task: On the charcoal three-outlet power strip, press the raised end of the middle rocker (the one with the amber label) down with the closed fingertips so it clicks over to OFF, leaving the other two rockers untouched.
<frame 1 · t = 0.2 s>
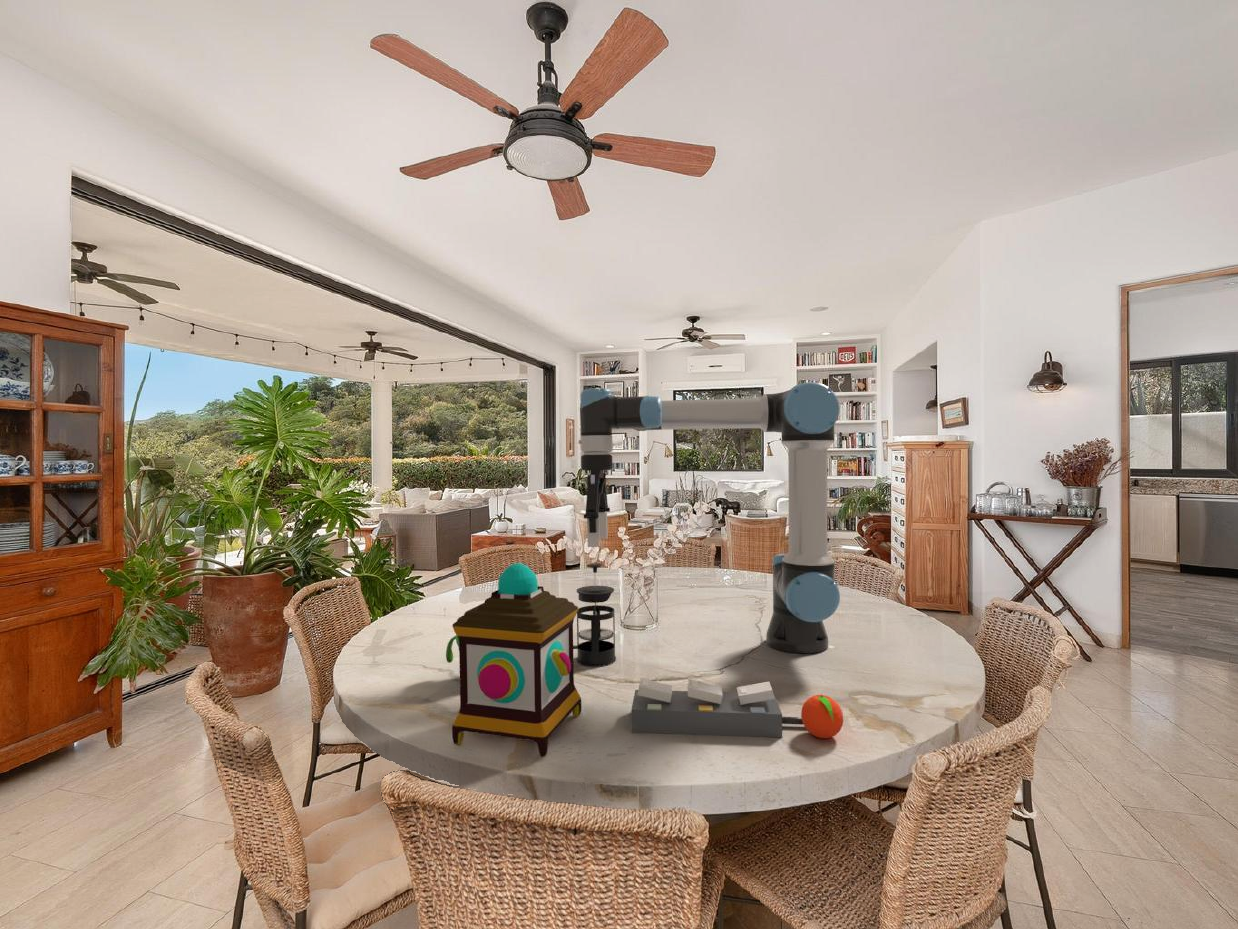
hand: (597, 542, 145), 28 cm above the table, tool pointing down, fingers open, 13 cm apart
rocker 1: (755, 692, 109), point 6 cm above the table, hinge at 12.0°
decorative lantern: (520, 731, 108), on the table
snack cup: (481, 680, 133), on the table
rocker 3: (655, 689, 110), point 6 cm above the table, hinge at -12.0°
french press: (594, 660, 144), on the table
rocker 2: (704, 691, 110), point 6 cm above the table, hinge at -12.0°
clementine: (823, 739, 104), on the table
power strip: (705, 723, 110), on the table
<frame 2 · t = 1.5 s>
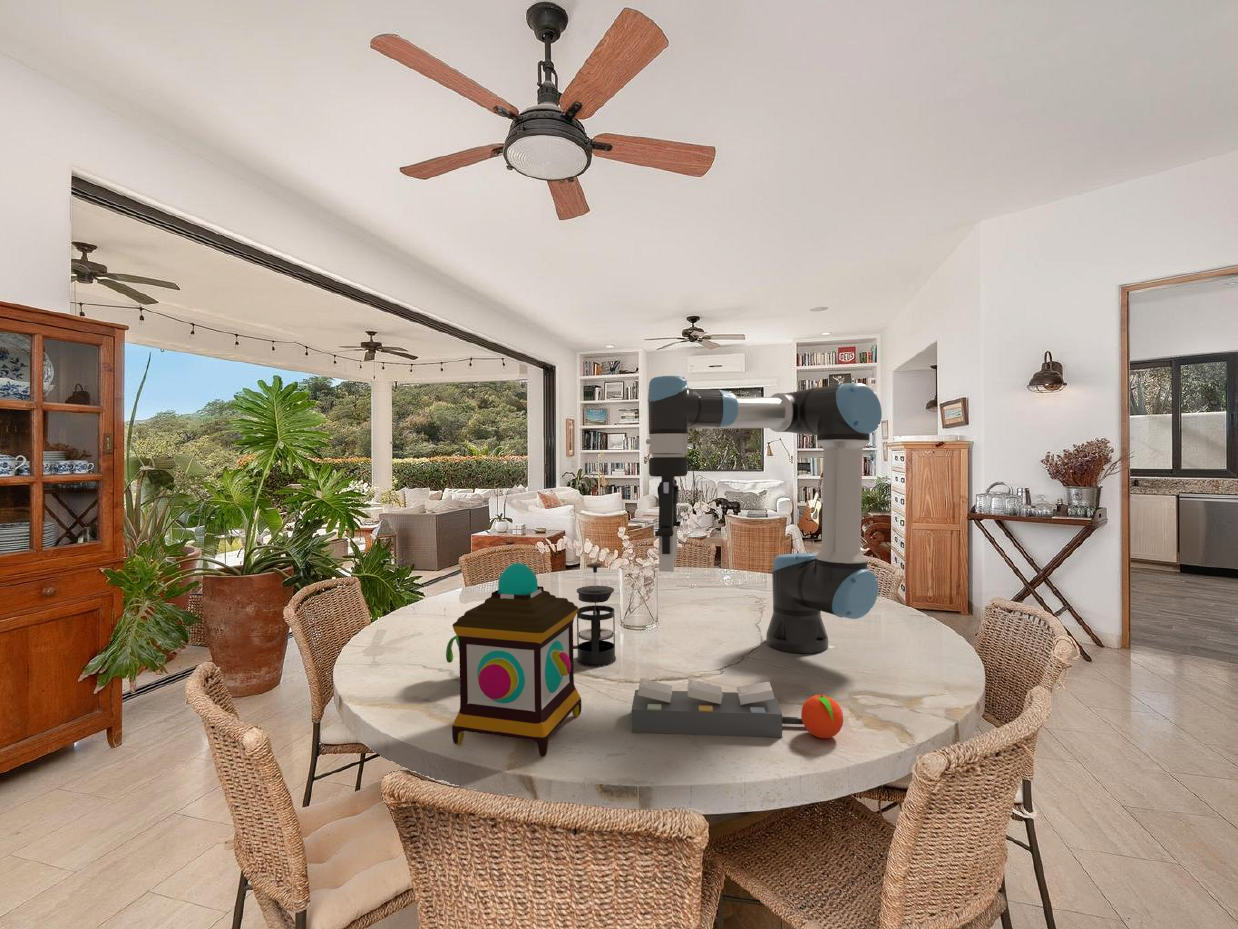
hand: (668, 564, 118), 27 cm above the table, tool pointing down, fingers open, 13 cm apart
nothing on the table moved.
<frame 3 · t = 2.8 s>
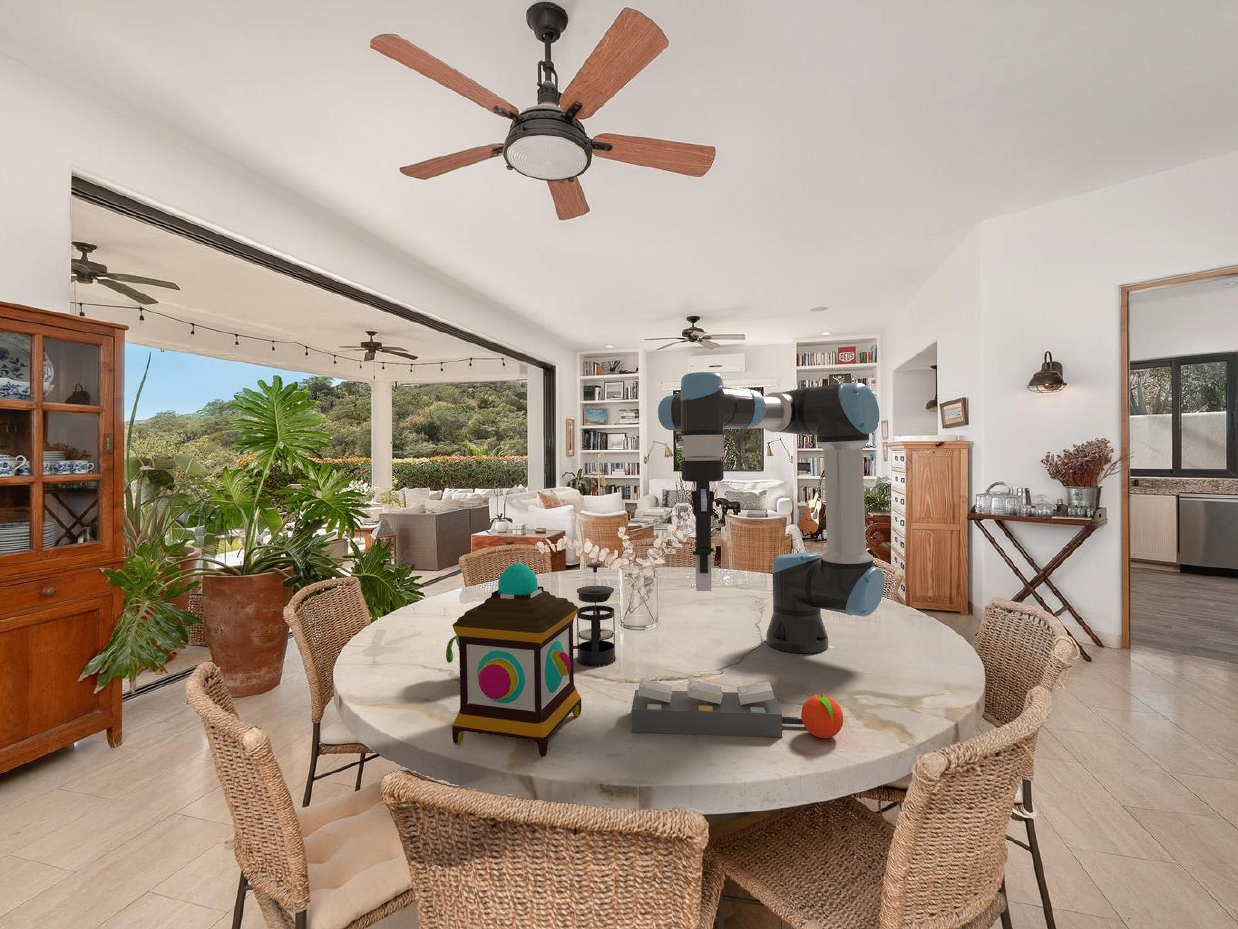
hand: (703, 589, 109), 24 cm above the table, tool pointing down, fingers closed
nothing on the table moved.
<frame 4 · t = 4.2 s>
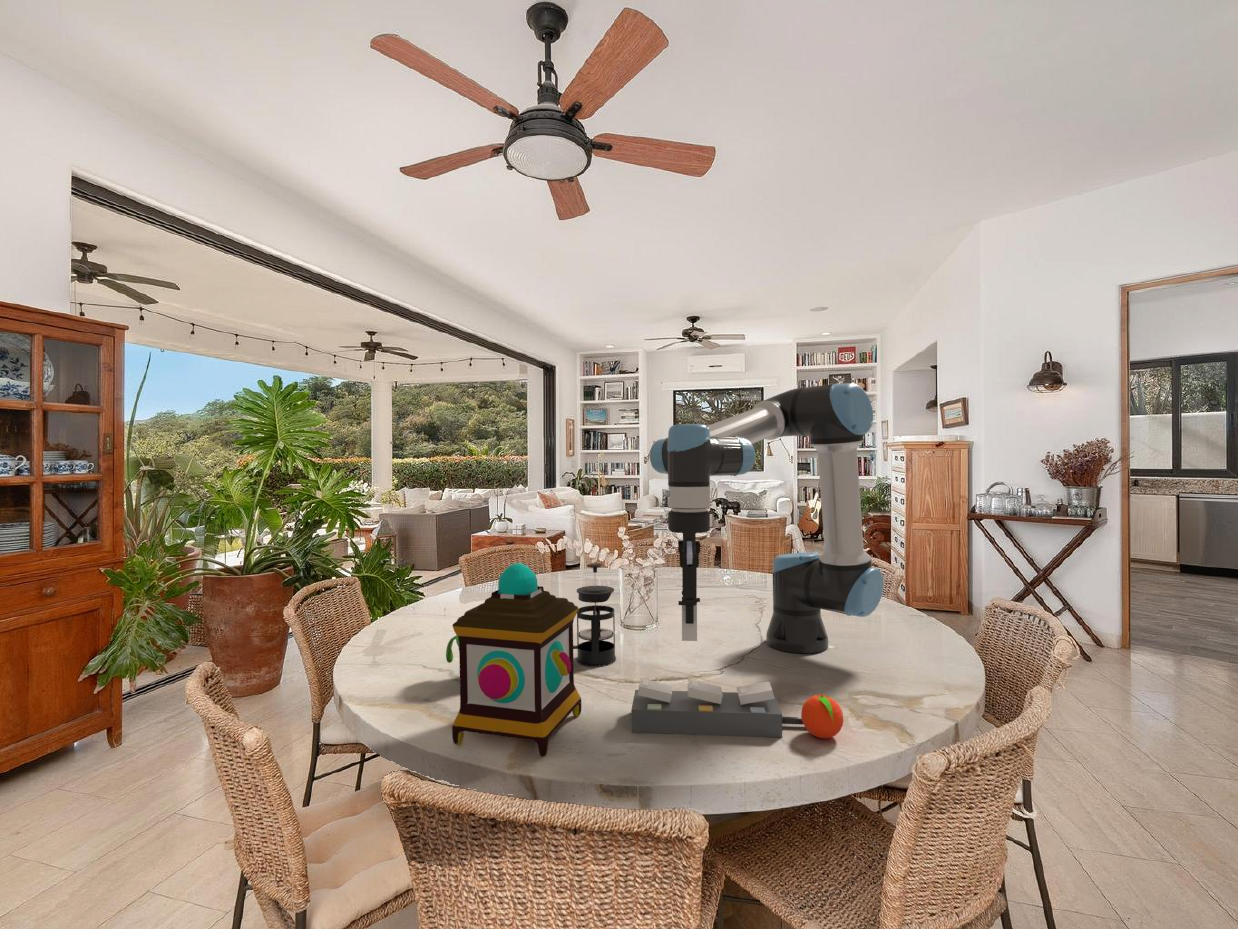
hand: (689, 639, 109), 15 cm above the table, tool pointing down, fingers closed
nothing on the table moved.
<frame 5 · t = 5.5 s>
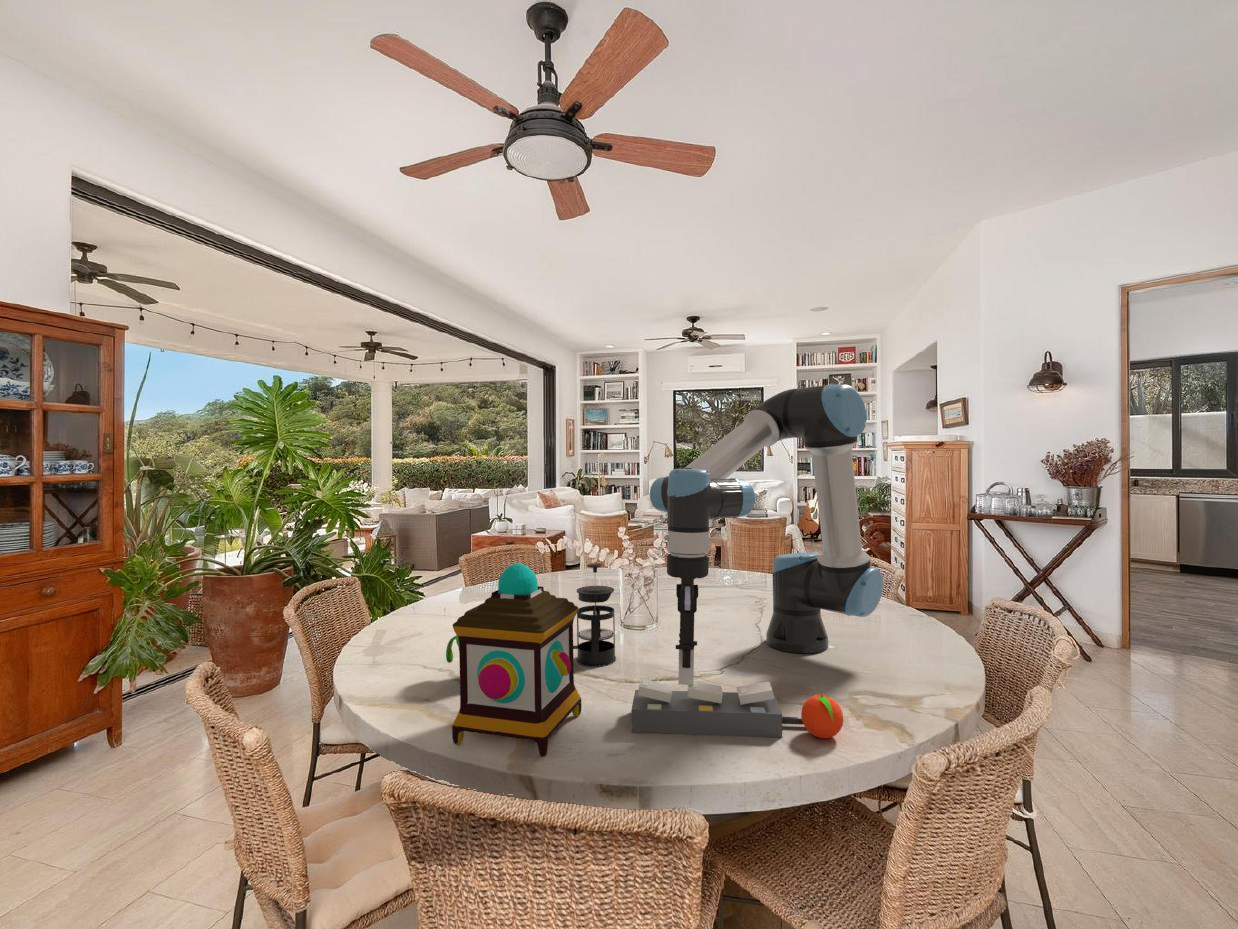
hand: (685, 683, 110), 7 cm above the table, tool pointing down, fingers closed
rocker 2: (704, 691, 110), point 6 cm above the table, hinge at -8.9°, touching gripper
everything else where it was.
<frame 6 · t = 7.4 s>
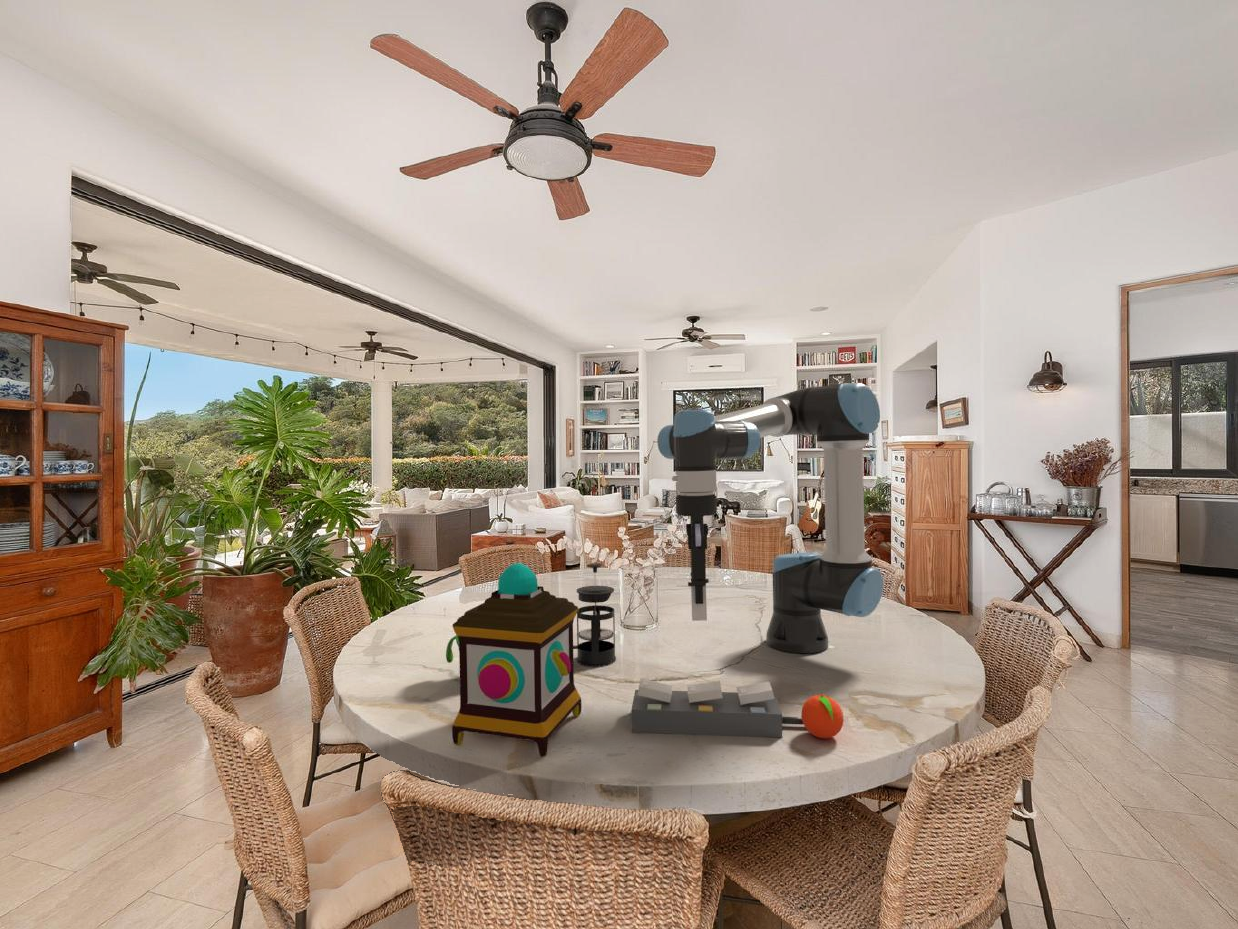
hand: (699, 619, 113), 18 cm above the table, tool pointing down, fingers closed
rocker 2: (704, 691, 110), point 6 cm above the table, hinge at 10.1°
everything else where it was.
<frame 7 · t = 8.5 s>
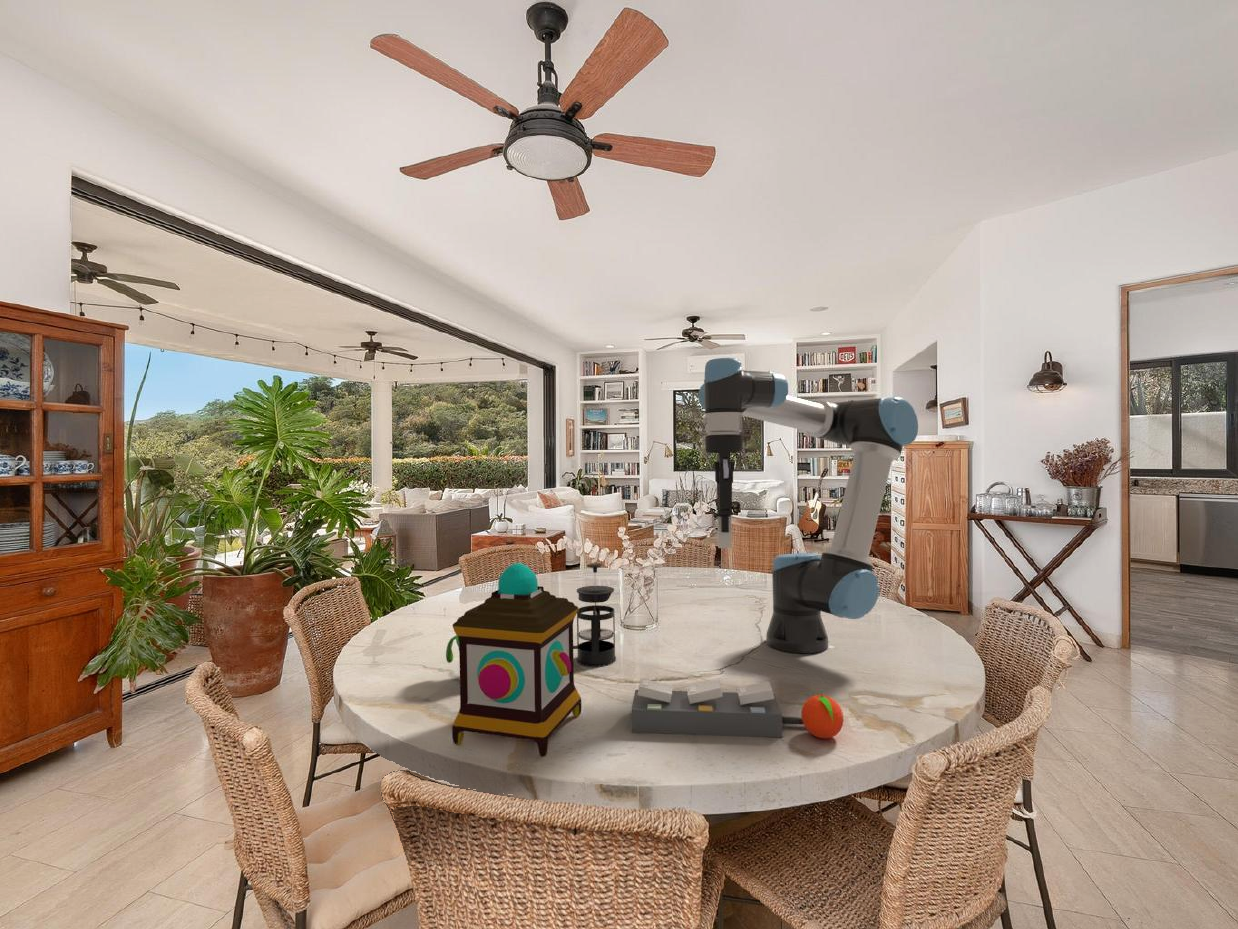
hand: (724, 547, 125), 29 cm above the table, tool pointing down, fingers closed
rocker 2: (704, 691, 110), point 6 cm above the table, hinge at 14.5°
everything else where it was.
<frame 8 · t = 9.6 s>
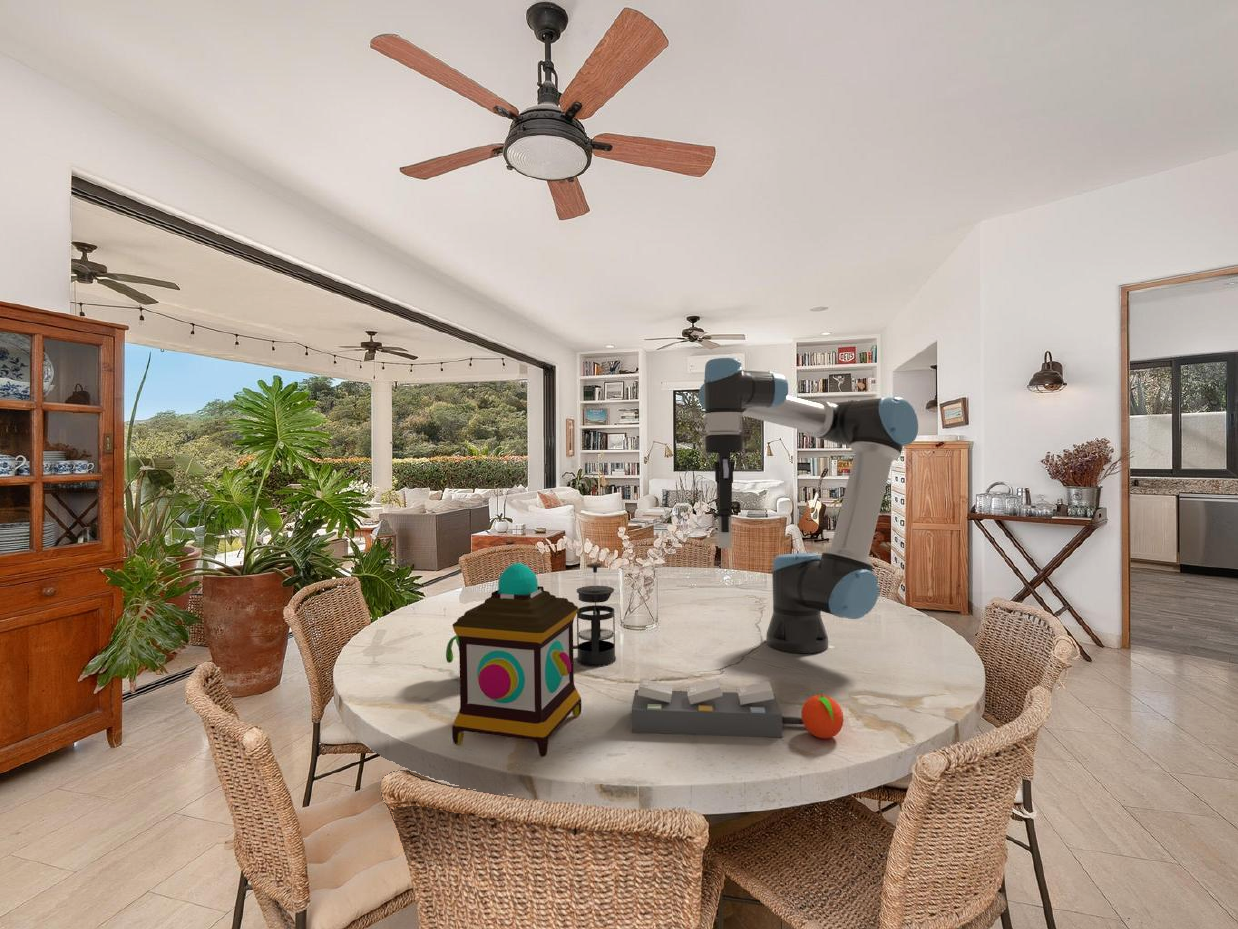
hand: (724, 547, 126), 29 cm above the table, tool pointing down, fingers closed
rocker 2: (704, 691, 110), point 6 cm above the table, hinge at 17.2°
everything else where it was.
at the end: rocker 2 at +17° (first picture: -12°); rocker 1 at +12° (first picture: +12°); rocker 3 at -12° (first picture: -12°) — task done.
